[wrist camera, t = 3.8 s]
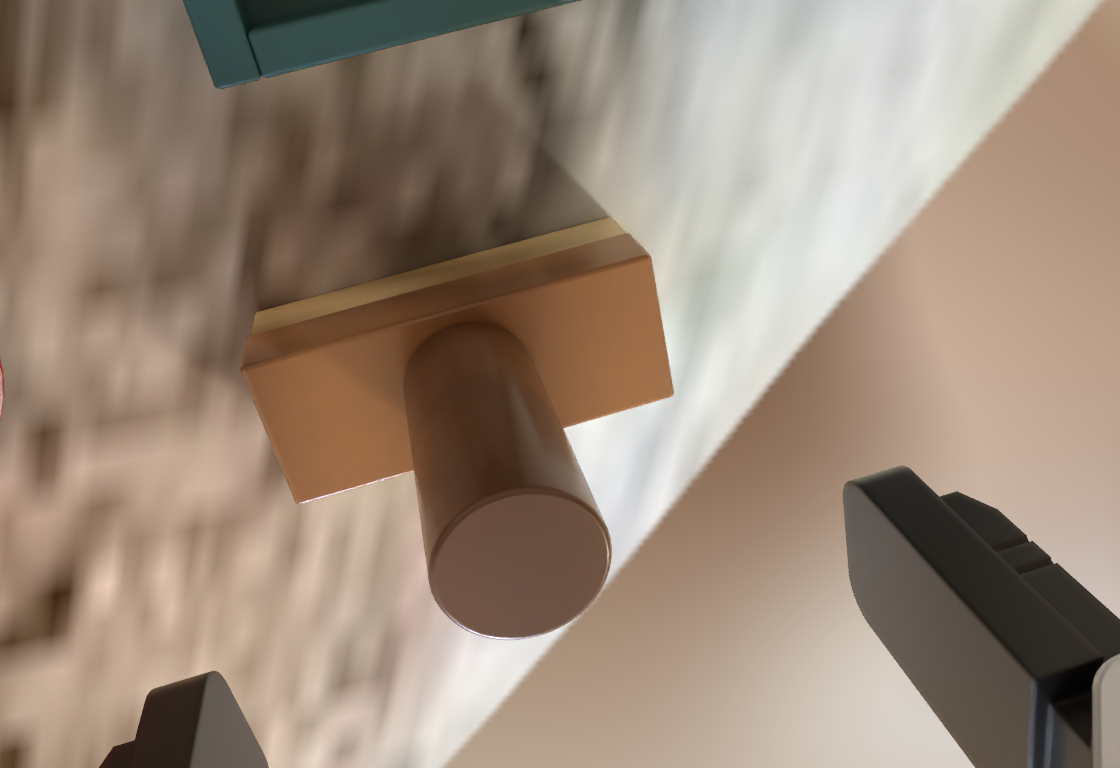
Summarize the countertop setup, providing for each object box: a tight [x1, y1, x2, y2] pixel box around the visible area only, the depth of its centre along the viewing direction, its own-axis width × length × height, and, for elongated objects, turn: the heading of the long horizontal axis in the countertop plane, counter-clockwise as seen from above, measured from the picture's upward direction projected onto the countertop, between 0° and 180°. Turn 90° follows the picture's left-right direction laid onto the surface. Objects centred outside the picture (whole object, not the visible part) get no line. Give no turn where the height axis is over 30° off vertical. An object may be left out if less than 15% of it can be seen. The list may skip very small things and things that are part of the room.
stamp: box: [241, 217, 674, 640], centre depth 17 cm, size 8×3×9 cm, turn 102°
